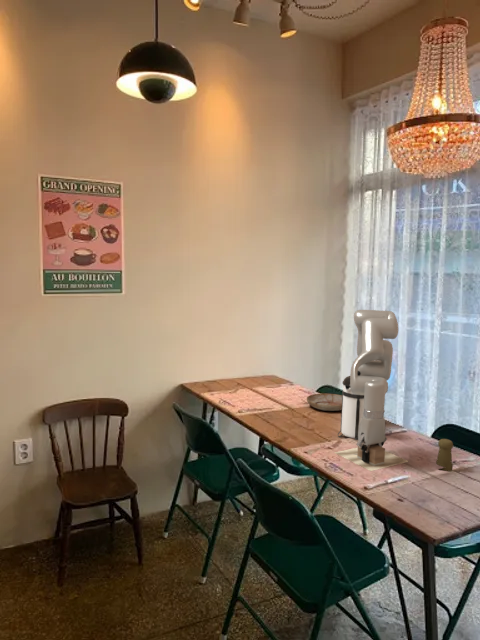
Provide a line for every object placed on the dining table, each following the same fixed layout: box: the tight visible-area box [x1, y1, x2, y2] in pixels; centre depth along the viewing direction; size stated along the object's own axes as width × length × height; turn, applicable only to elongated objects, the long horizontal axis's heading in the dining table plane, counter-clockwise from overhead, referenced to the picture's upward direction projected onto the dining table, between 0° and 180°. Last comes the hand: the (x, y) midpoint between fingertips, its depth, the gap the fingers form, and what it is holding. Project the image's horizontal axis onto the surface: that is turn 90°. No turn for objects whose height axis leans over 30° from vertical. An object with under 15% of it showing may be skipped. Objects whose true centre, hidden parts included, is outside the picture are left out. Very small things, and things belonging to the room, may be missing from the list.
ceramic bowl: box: [306, 393, 342, 412], centre depth 265 cm, size 23×24×5 cm
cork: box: [435, 438, 454, 472], centre depth 188 cm, size 6×6×11 cm
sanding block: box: [357, 444, 386, 466], centre depth 189 cm, size 9×5×6 cm, turn 31°
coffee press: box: [337, 371, 364, 441], centre depth 219 cm, size 17×16×30 cm
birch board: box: [334, 446, 410, 472], centre depth 194 cm, size 20×20×2 cm
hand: (370, 459), depth 189 cm, fingers closed on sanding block, 5 cm apart
